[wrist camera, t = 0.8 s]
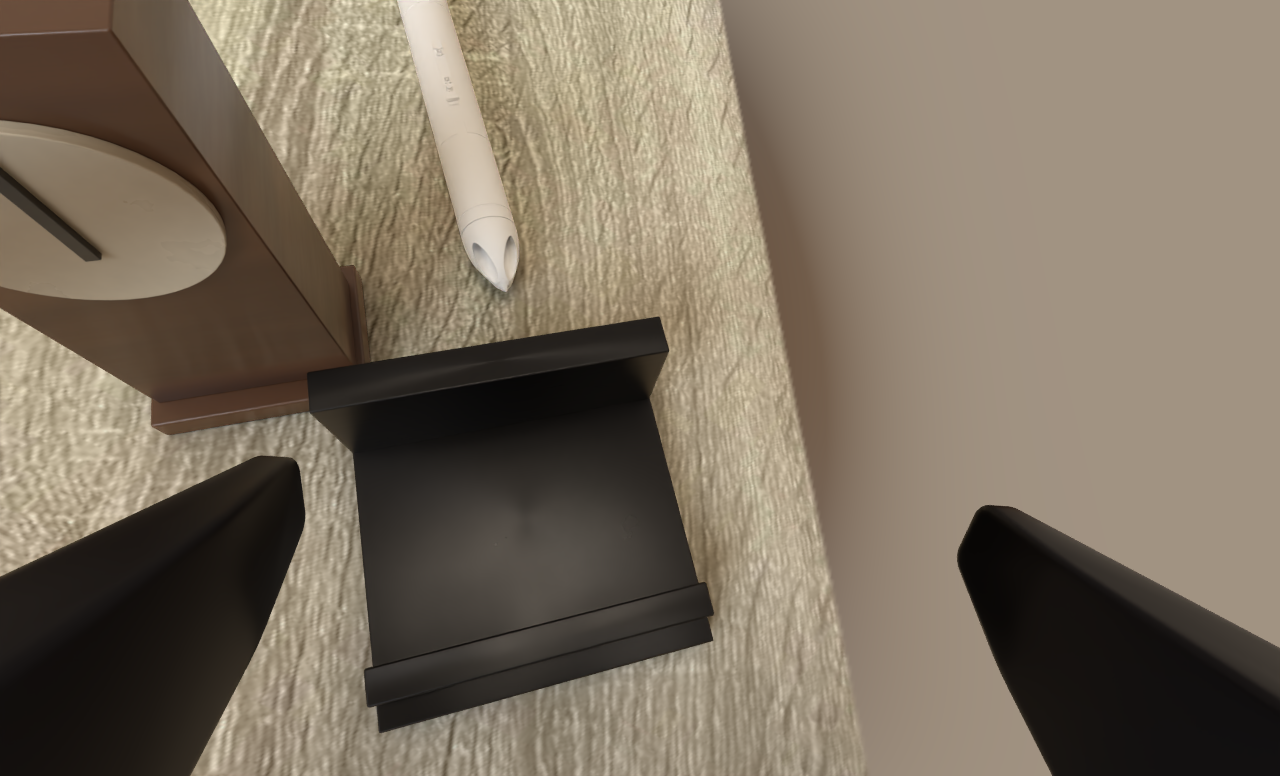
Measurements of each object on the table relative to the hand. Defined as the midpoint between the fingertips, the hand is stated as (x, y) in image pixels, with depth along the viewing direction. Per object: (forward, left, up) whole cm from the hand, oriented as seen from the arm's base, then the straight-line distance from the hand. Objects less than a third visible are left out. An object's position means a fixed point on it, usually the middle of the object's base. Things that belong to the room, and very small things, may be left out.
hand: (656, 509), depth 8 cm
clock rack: (+1, +3, -13) cm, 14 cm away
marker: (+16, +11, -14) cm, 24 cm away
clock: (+4, +13, -13) cm, 19 cm away
